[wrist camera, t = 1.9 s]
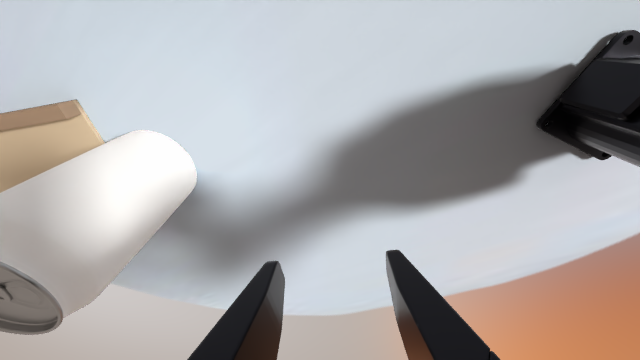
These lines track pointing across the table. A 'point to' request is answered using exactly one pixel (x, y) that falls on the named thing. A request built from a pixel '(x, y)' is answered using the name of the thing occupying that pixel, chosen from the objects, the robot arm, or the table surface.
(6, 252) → the can
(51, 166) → the wooden tray
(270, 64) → the table surface
